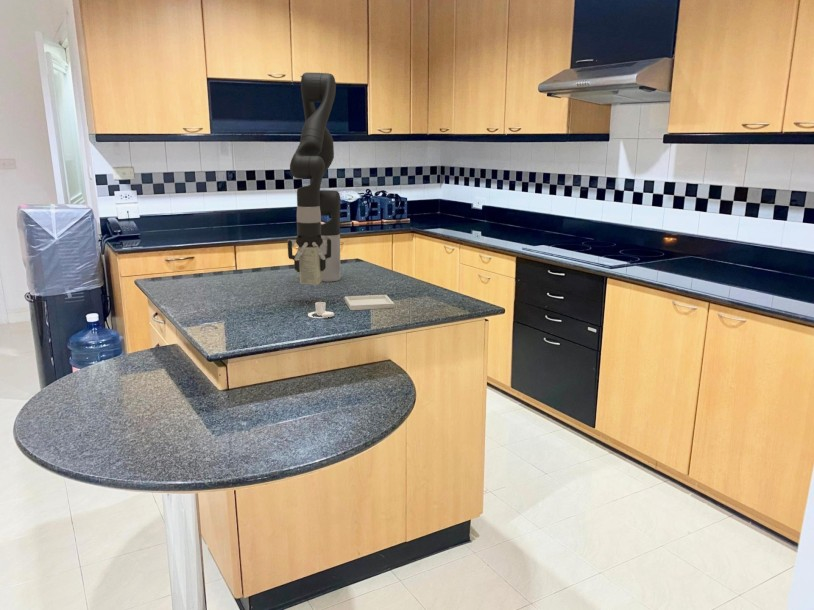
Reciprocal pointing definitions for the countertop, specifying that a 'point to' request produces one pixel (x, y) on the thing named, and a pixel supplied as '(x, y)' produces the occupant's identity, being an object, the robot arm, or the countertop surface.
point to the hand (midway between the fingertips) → (310, 271)
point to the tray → (369, 302)
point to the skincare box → (310, 266)
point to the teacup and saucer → (321, 311)
